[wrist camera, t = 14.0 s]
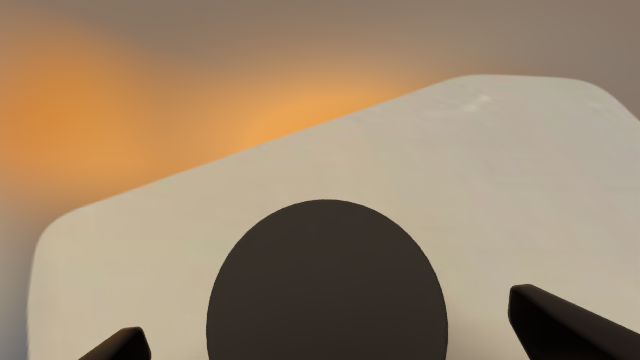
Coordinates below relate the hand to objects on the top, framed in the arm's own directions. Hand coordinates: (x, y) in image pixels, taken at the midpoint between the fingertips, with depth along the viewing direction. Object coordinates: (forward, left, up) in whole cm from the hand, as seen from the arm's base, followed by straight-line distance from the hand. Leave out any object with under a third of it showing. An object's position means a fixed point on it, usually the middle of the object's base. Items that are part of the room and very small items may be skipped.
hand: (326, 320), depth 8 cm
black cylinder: (0, 0, -11) cm, 11 cm away
